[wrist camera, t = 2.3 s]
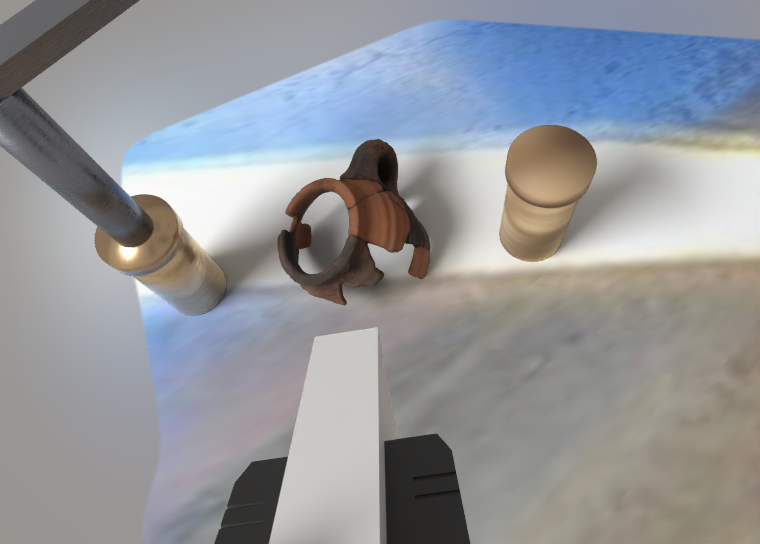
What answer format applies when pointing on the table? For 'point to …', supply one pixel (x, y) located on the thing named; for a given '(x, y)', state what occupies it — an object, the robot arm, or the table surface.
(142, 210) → the aperture bracket
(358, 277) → the broken brown pot
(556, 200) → the oak collar post
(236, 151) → the table surface
